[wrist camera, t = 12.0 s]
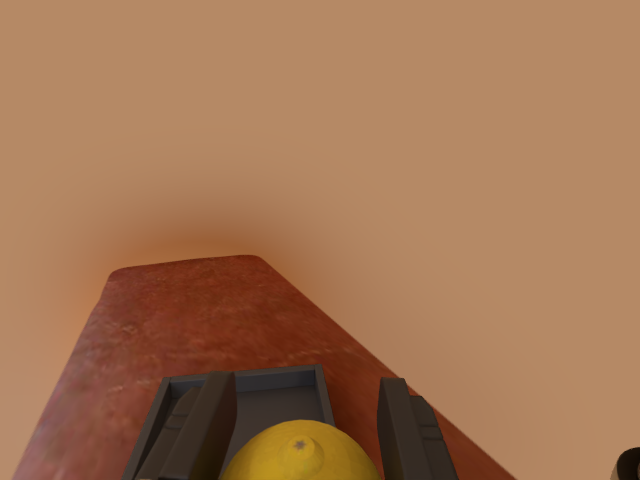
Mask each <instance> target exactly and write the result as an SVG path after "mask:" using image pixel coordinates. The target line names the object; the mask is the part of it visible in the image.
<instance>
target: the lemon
mask: <svg viewBox="0 0 640 480" xmlns="http://www.w3.org/2000/svg"><path fill="white" fill-rule="evenodd" d="M219 480H382V479H381V477H380V475H379V473H378V471H377V469H376V467H375V465H374V463H373V462H372V461H371V459H370V458H369V457H368V455H367V454H366V453H365V451H364V450H363V449H362V448H361V447H360V445H359V444H357V443H356V442H355V441H354V440H353V439H352V438H350V437H349V436H348V435H347V434H346V433H344V432H342V431H340V430H338V429H336V428H335V427H333V426H331V425H329V424H325V423H321V422H318V421H314V420H293V421H287V422H283V423H280V424H277V425H275V426H272V427H270V428H267V429H266V430H264V431H263V432H261V433H259V434H258V435H256V436H255V437H253V438H252V439H251V440H250V441H249V442H248V443H247V444H245V445H244V446H243V447H242V448H241V449H240V450H239V451H238V452H237V454H236V455H235V456H234V457H233V459H232V460H231V462H230V463H229V465H228V466H227V468H226V469H225V471H224V472H223V474H222V476H221V477H220V479H219Z"/></svg>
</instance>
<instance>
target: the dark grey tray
mask: <svg viewBox="0 0 640 480" xmlns="http://www.w3.org/2000/svg"><path fill="white" fill-rule="evenodd" d="M233 372H234V373H235V380H236V394H237V420H236V425H235V429H234V432H233V435H232V438H231V441H230V444H229V448H228V451H227V454H226V457H225V460H224V463H223V467H222V470H221V473H220V476H219V479H220V477H221V476H222V474H223V472H224V471H225V469H226V468H227V466H228V465H229V463H230V462H231V460H232V459H233V457H234V456H235V455H236V454H237V452H238V451H239V450H240V449H241V448H242V447H243V446H244V445H245V444H247V443H248V442H249V441H250V440H251V439H252V438H253V437H255V436H256V435H258V434H259V433H261V432H263V431H264V430H266V429H267V428H270V427H272V426H275V425H277V424H280V423H283V422H287V421H293V420H314V421H318V422H321V423H325V424H329V425H331V426H333V427H335V428H336V426H335V422H334V417H333V413H332V408H331V404H330V399H329V395H328V391H327V386H326V382H325V377H324V373H323V368H322V364H315V365H302V366H290V367H279V368H267V369H255V370H243V371H233ZM208 375H209V373H208V374H197V375H185V376H173V377H172V378H171V377H164V378H163V379H162V382H161V384H160V387H159V389H158V391H157V394H156V396H155V399H154V401H153V403H152V406H151V408H150V411H149V413H148V416H147V418H146V420H145V423H144V425H143V428H142V430H141V432H140V435H139V437H138V440H137V442H136V444H135V447H134V449H133V452H132V454H131V457H130V459H129V461H128V464H127V466H126V469H125V471H124V473H123V476H122V478H121V480H134V479H135V477H136V476H137V474H138V472H139V470H140V469H141V467H142V465H143V463H144V461H145V460H146V458H147V456H148V454H149V453H150V451H151V449H152V447H153V445H154V444H155V442H156V440H157V438H158V436H159V435H160V433H161V431H162V429H164V427H165V424H166V422H167V420H168V418H169V417H170V416H171V413H172V411H173V409H174V408H175V406H176V404H177V402H178V401H179V399H180V398H181V397H182V396H183V395H184V394H185V393H186V392H187V391H189V390H190V389H191V388H192V387H203V385H204V383H205V381H206V379H207V377H208ZM219 479H218V480H219Z"/></svg>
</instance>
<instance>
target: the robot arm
mask: <svg viewBox="0 0 640 480" xmlns="http://www.w3.org/2000/svg"><path fill="white" fill-rule="evenodd" d="M236 420H237V394H236V380H235V373H234V372H233V371H211V372H210V373H209V375H208V377H207V379H206V381H205V383H204V385H203V387H192V388H191V389H190V390H189V391H187V392H186V393H185V394H184V395H183V396H182V397H181V398H180V399H179V401H178V402H177V404H176V406H175V408H174V409H173V411H172V413H171V416H170V417H169V418H168V420H167V422H166V424H165V427H164V429H162V431H161V433H160V435H159V436H158V438H157V440H156V442H155V444H154V445H153V447H152V449H151V451H150V453H149V454H148V456H147V458H146V460H145V461H144V463H143V465H142V467H141V469H140V470H139V472H138V474H137V476H136V477H135V479H134V480H218V479H219V476H220V473H221V470H222V467H223V463H224V460H225V457H226V454H227V451H228V448H229V444H230V441H231V438H232V435H233V432H234V429H235V425H236ZM377 429H378V437H379V443H380V450H381V456H382V462H383V468H384V475H385V480H459V479H458V476H457V473H456V470H455V468H454V465H453V462H452V460H451V457H450V454H449V452H448V449H447V446H446V444H445V441H444V440H443V435H442V433H441V430H440V428H439V426H438V422H437V419H436V417H435V414H434V411H433V409H432V408H431V407H430V405H429V404H428V403H427V402H426V401H425V400H424V398H423V397H422V396H410V394H409V391H408V388H407V385H406V381H405V379H404V378H386V377H382V378H381V380H380V390H379V400H378V410H377ZM636 480H640V463H639V465H638V467H637V470H636Z"/></svg>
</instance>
